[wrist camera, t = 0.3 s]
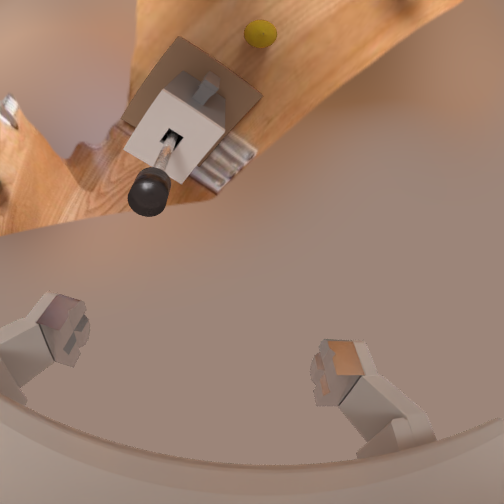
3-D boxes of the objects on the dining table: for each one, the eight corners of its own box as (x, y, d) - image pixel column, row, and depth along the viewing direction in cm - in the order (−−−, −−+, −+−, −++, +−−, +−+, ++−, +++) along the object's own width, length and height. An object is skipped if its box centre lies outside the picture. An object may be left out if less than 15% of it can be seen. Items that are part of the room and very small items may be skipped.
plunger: (176, 87, 37) (130, 146, 20) (214, 113, 41) (205, 192, 24) (150, 124, 41) (96, 209, 24) (186, 147, 45) (161, 244, 28)
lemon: (270, 49, 42) (277, 51, 37) (240, 44, 42) (242, 46, 36) (275, 23, 39) (283, 22, 33) (245, 18, 38) (248, 16, 32)
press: (179, 36, 39) (153, 38, 24) (262, 94, 49) (279, 127, 34) (122, 116, 49) (81, 160, 34) (199, 163, 59) (190, 222, 44)
